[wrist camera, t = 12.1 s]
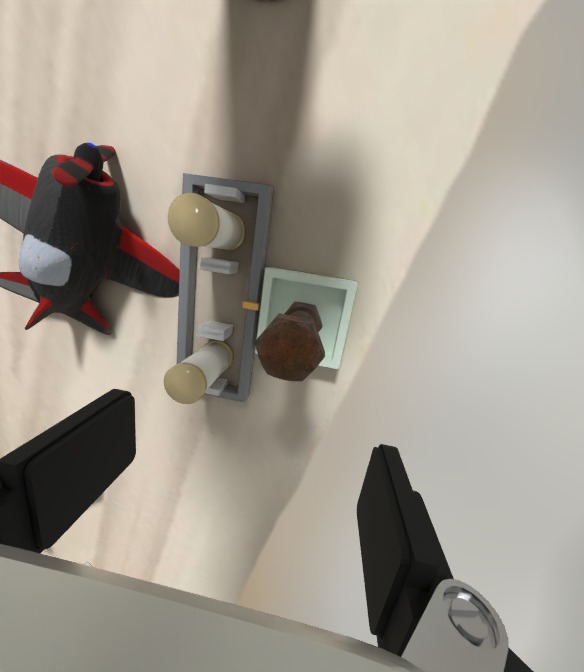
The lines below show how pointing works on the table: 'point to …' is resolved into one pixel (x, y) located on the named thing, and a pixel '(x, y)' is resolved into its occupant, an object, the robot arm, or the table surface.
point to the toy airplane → (75, 237)
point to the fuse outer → (198, 372)
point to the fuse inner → (204, 223)
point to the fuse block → (188, 258)
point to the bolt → (292, 343)
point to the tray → (316, 290)
